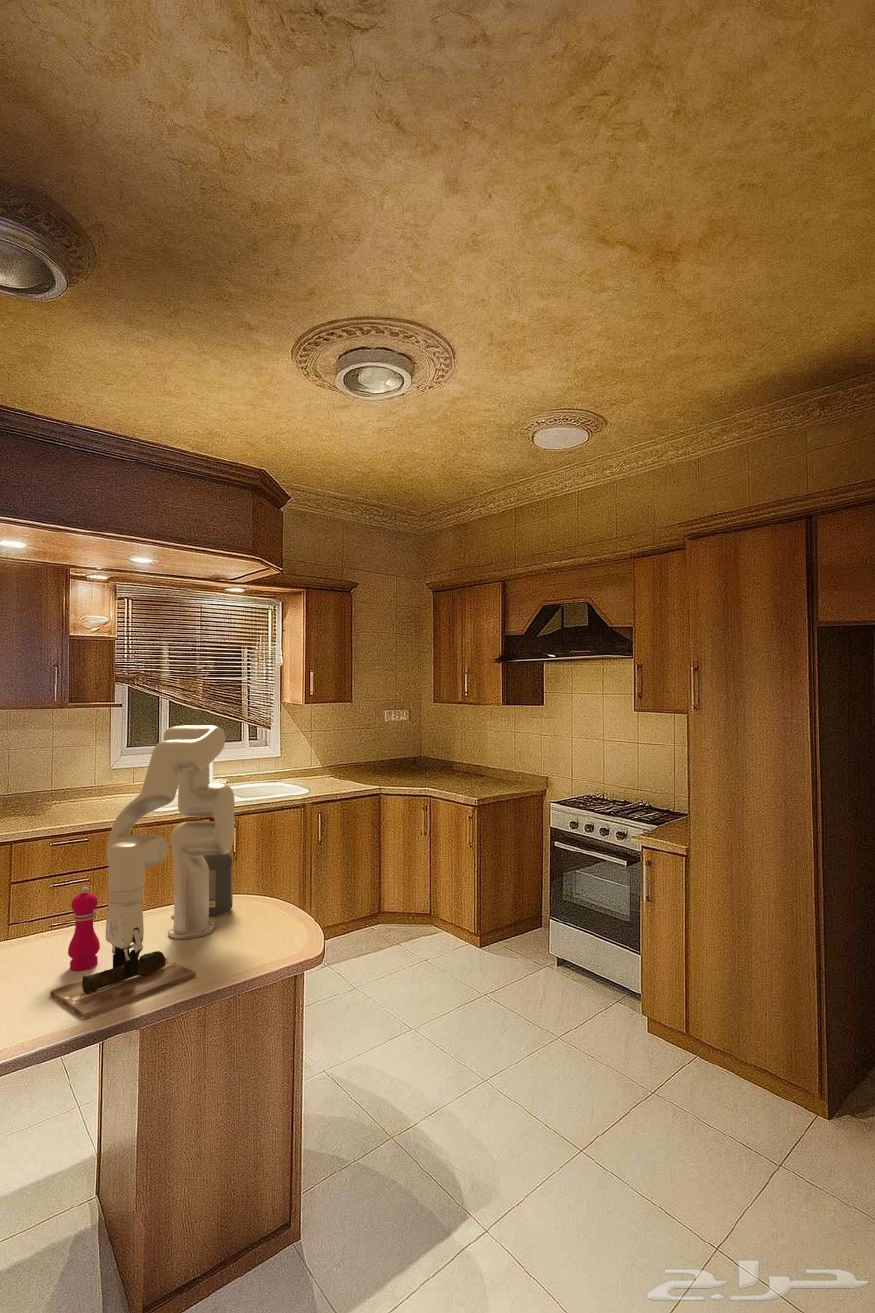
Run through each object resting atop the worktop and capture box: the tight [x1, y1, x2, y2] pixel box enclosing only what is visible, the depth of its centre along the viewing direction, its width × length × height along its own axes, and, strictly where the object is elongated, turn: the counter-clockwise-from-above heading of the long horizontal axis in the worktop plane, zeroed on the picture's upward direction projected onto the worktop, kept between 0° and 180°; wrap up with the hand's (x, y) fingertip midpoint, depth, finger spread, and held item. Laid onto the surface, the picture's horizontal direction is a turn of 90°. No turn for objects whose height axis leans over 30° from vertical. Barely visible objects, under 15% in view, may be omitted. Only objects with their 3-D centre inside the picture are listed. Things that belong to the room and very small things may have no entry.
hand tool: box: [81, 950, 166, 994], centre depth 157 cm, size 19×4×5 cm, turn 136°
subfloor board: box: [50, 957, 197, 1020], centre depth 157 cm, size 18×26×1 cm
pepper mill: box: [67, 886, 101, 972], centre depth 169 cm, size 7×7×20 cm
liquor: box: [203, 817, 234, 918], centre depth 210 cm, size 9×9×30 cm
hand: (125, 972), depth 157 cm, fingers open, 4 cm apart
